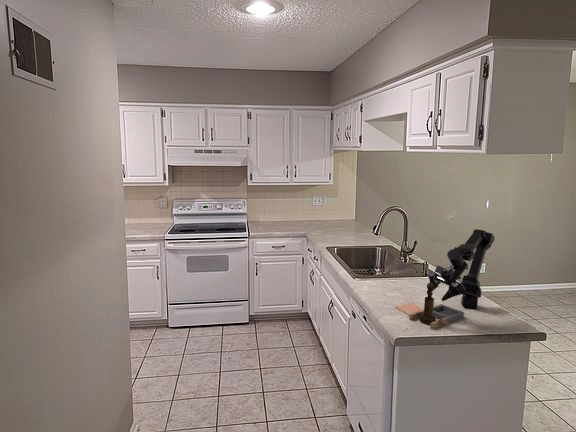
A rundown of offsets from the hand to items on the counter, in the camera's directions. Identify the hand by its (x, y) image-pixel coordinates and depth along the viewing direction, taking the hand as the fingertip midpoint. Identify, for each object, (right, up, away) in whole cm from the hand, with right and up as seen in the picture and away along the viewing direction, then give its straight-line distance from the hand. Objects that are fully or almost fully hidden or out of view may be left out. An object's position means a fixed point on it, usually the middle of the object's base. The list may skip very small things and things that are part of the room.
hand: (434, 297), depth 186 cm
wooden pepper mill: (-3, -12, +1) cm, 12 cm away
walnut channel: (-2, -11, +1) cm, 12 cm away
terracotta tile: (-6, -9, +14) cm, 18 cm away
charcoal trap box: (+8, -10, +8) cm, 15 cm away
